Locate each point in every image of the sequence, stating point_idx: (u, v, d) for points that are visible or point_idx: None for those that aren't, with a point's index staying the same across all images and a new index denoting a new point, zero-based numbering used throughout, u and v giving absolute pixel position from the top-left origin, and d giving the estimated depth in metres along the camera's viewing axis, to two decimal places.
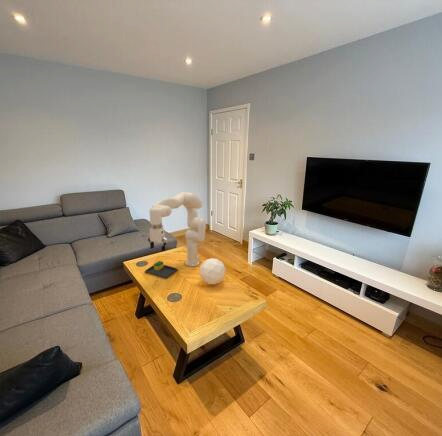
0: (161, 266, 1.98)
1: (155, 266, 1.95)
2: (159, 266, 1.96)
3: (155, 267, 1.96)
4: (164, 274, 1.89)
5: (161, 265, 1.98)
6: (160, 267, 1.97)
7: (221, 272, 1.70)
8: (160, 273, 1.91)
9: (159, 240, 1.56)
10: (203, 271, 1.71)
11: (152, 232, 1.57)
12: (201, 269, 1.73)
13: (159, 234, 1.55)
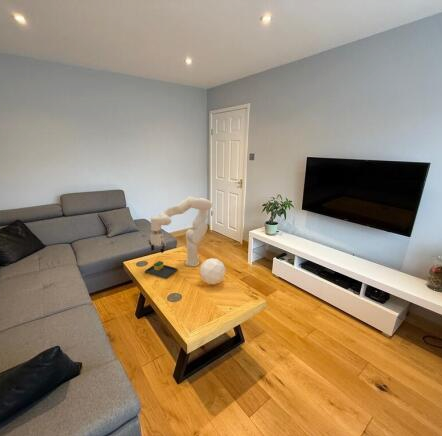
0: (161, 266, 1.98)
1: (155, 266, 1.95)
2: (159, 266, 1.96)
3: (155, 267, 1.96)
4: (164, 274, 1.89)
5: (161, 265, 1.98)
6: (160, 267, 1.97)
7: (221, 272, 1.70)
8: (160, 273, 1.91)
9: (159, 243, 1.85)
10: (203, 271, 1.71)
11: (153, 237, 1.85)
12: (201, 269, 1.73)
13: (159, 238, 1.84)
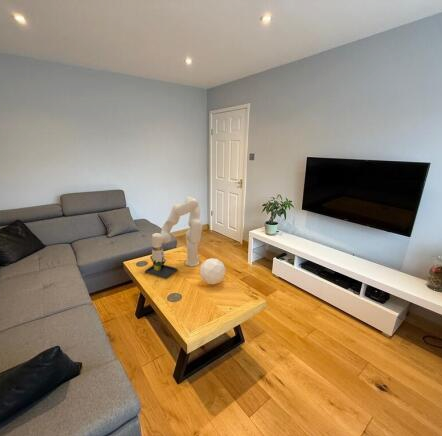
0: None
1: (155, 266, 1.95)
2: (159, 266, 1.96)
3: (155, 267, 1.96)
4: (164, 274, 1.89)
5: None
6: (160, 267, 1.97)
7: (221, 272, 1.70)
8: (160, 273, 1.91)
9: (159, 259, 1.93)
10: (203, 271, 1.71)
11: (154, 253, 1.93)
12: (201, 269, 1.73)
13: (159, 255, 1.92)
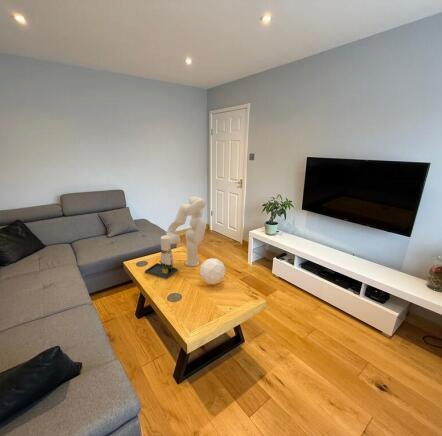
0: None
1: (163, 269, 1.90)
2: (167, 269, 1.91)
3: (163, 270, 1.91)
4: (164, 274, 1.89)
5: None
6: None
7: (221, 272, 1.70)
8: (160, 273, 1.91)
9: (168, 262, 1.88)
10: (203, 271, 1.71)
11: (163, 256, 1.88)
12: (201, 269, 1.73)
13: (168, 258, 1.87)
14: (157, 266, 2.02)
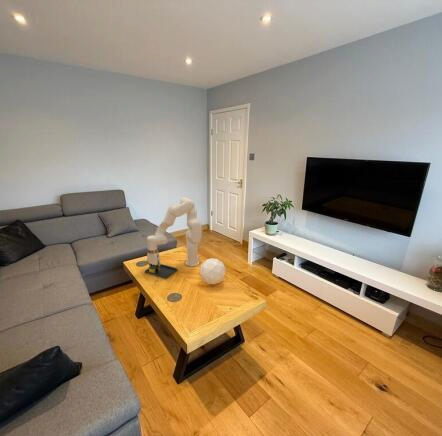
0: None
1: (150, 269, 1.90)
2: (154, 269, 1.91)
3: (150, 270, 1.90)
4: (164, 274, 1.89)
5: None
6: None
7: (221, 272, 1.70)
8: (160, 273, 1.91)
9: (155, 263, 1.88)
10: (203, 271, 1.71)
11: (149, 256, 1.88)
12: (201, 269, 1.73)
13: (155, 258, 1.86)
14: None
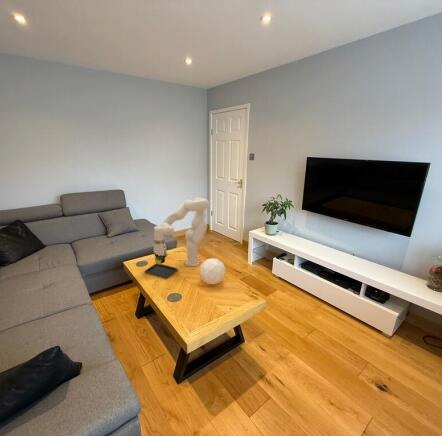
0: None
1: (157, 260, 1.88)
2: None
3: (157, 261, 1.88)
4: (164, 274, 1.89)
5: None
6: None
7: (221, 272, 1.70)
8: (160, 273, 1.91)
9: (161, 253, 1.86)
10: (203, 271, 1.71)
11: (156, 247, 1.86)
12: (201, 269, 1.73)
13: (161, 248, 1.85)
14: (157, 266, 2.02)
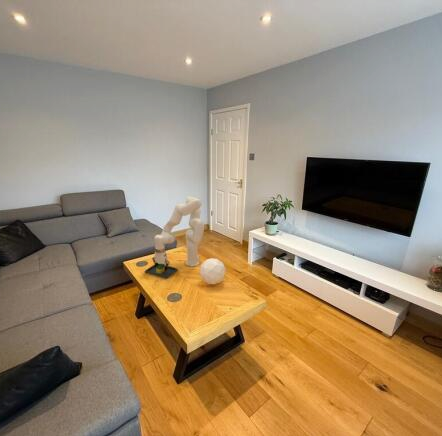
0: (163, 269, 1.94)
1: (157, 269, 1.90)
2: (161, 269, 1.91)
3: (157, 270, 1.91)
4: (164, 274, 1.89)
5: (163, 268, 1.93)
6: (163, 270, 1.93)
7: (221, 272, 1.70)
8: None
9: (162, 262, 1.88)
10: (203, 271, 1.71)
11: (157, 255, 1.89)
12: (201, 269, 1.73)
13: (162, 257, 1.87)
14: None
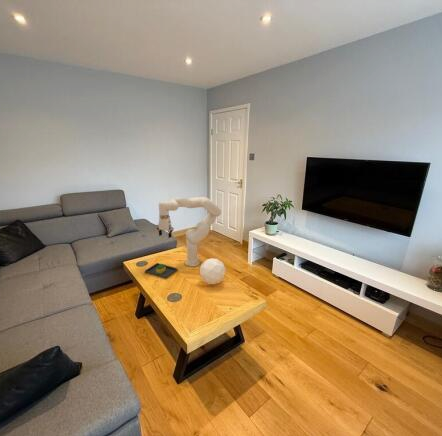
0: (163, 269, 1.94)
1: (157, 269, 1.90)
2: (161, 269, 1.91)
3: (157, 270, 1.91)
4: (164, 274, 1.89)
5: (163, 268, 1.93)
6: (163, 270, 1.93)
7: (221, 272, 1.70)
8: None
9: (166, 228, 1.89)
10: (203, 271, 1.71)
11: (161, 222, 1.89)
12: (201, 269, 1.73)
13: (166, 223, 1.88)
14: None
